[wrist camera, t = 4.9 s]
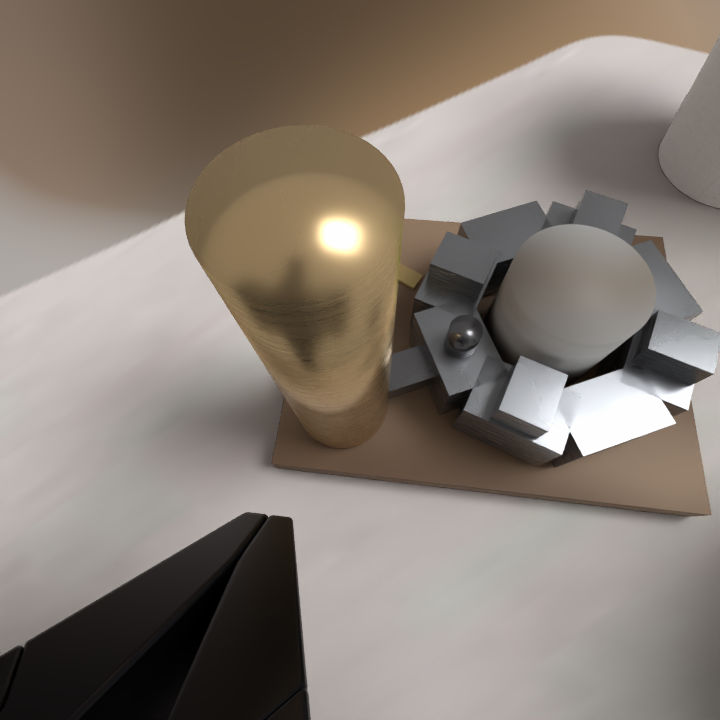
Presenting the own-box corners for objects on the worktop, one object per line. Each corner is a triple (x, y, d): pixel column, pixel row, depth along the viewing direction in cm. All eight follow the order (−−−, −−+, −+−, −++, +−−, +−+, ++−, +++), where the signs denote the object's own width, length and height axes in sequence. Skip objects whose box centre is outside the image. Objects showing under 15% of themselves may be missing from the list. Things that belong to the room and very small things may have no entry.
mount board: (690, 516, 15) (848, 504, 10) (277, 467, 16) (233, 435, 11) (648, 252, 19) (744, 150, 14) (322, 227, 20) (304, 125, 15)
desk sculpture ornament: (709, 412, 15) (1244, 209, 6) (335, 545, 14) (254, 557, 5) (581, 219, 18) (791, -107, 9) (270, 313, 17) (145, 46, 8)
